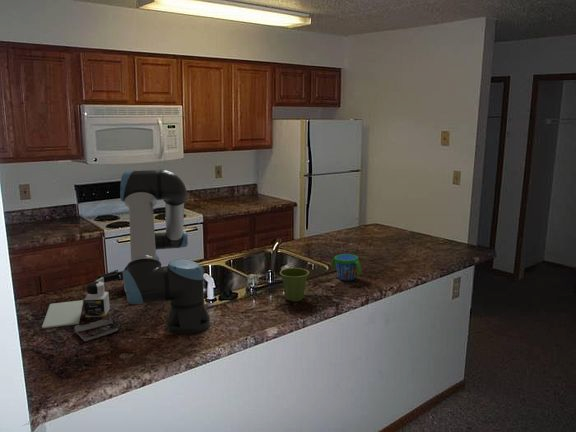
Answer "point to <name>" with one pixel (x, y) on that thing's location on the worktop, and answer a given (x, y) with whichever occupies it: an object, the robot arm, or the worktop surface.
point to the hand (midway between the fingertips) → (109, 287)
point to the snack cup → (346, 266)
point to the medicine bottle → (96, 300)
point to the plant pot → (294, 283)
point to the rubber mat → (63, 314)
